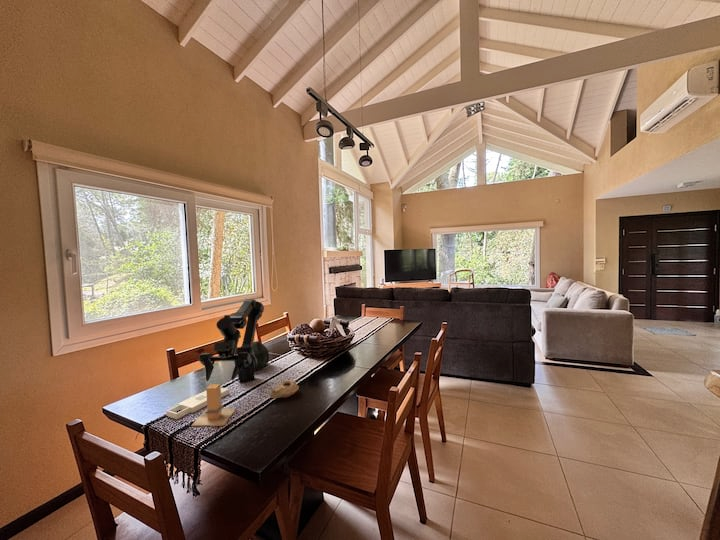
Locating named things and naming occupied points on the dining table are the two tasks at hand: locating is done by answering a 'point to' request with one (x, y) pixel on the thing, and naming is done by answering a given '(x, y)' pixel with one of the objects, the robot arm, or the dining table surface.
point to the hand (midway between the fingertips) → (219, 380)
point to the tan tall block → (214, 401)
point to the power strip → (192, 404)
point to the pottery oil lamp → (284, 389)
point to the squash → (260, 354)
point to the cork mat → (220, 421)
